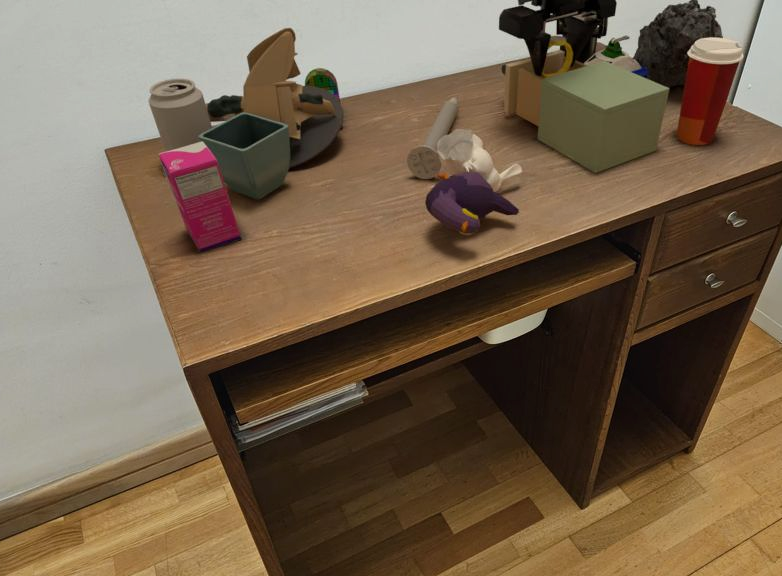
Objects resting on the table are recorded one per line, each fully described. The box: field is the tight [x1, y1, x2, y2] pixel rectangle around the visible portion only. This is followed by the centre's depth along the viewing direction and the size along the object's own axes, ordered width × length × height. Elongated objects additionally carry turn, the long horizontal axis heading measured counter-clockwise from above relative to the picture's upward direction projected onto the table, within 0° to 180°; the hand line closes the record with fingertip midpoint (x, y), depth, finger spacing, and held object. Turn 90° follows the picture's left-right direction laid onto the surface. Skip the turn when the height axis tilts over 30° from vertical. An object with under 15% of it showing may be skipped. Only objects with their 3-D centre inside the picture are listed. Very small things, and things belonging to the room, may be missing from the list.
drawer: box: [501, 49, 588, 128], centre depth 106 cm, size 18×11×8 cm, turn 33°
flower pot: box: [198, 112, 290, 200], centre depth 90 cm, size 9×9×9 cm
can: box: [147, 77, 213, 152], centre depth 95 cm, size 8×8×12 cm
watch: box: [541, 35, 573, 78], centre depth 101 cm, size 6×3×6 cm, turn 116°
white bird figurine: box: [437, 128, 523, 193], centre depth 89 cm, size 12×8×10 cm
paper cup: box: [676, 37, 744, 146], centre depth 98 cm, size 8×8×14 cm
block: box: [304, 67, 344, 129], centre depth 106 cm, size 12×8×7 cm
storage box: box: [537, 61, 670, 174], centre depth 98 cm, size 14×13×10 cm
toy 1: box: [205, 27, 344, 169], centre depth 95 cm, size 18×20×15 cm
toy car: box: [584, 35, 649, 79], centre depth 111 cm, size 9×12×10 cm
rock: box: [632, 0, 724, 88], centre depth 112 cm, size 16×14×15 cm
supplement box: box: [157, 141, 242, 253], centre depth 80 cm, size 6×6×12 cm
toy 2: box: [424, 172, 520, 236], centre depth 82 cm, size 11×12×7 cm
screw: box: [406, 97, 459, 180], centre depth 102 cm, size 5×26×5 cm
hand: (553, 71), depth 103 cm, fingers closed on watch, 6 cm apart
